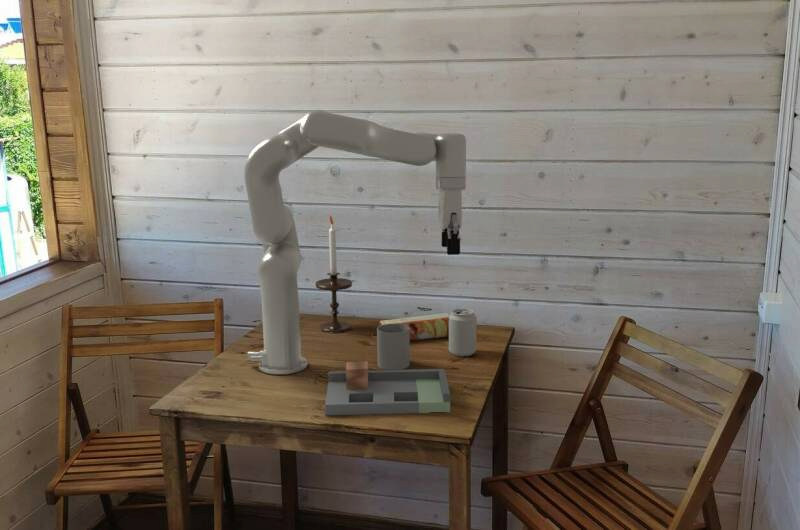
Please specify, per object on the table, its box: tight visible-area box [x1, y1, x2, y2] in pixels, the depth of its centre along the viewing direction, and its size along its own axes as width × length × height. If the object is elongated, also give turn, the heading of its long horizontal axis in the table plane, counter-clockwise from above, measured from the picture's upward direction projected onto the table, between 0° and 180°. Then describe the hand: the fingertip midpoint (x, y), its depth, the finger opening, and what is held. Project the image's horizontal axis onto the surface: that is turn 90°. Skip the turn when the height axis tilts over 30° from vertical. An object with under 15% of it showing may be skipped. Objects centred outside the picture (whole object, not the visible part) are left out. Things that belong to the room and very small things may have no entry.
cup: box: [376, 324, 411, 370], centre depth 213 cm, size 8×8×10 cm
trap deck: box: [324, 368, 451, 416], centre depth 189 cm, size 28×16×4 cm, turn 92°
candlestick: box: [315, 215, 353, 334], centre depth 242 cm, size 11×11×35 cm
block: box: [345, 361, 369, 389], centre depth 192 cm, size 5×5×5 cm
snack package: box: [378, 312, 451, 342], centre depth 235 cm, size 21×7×7 cm, turn 105°
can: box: [448, 308, 478, 358], centre depth 221 cm, size 8×8×12 cm
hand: (450, 250), depth 207 cm, fingers open, 9 cm apart
